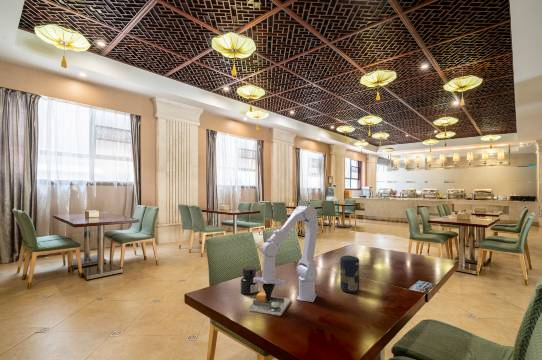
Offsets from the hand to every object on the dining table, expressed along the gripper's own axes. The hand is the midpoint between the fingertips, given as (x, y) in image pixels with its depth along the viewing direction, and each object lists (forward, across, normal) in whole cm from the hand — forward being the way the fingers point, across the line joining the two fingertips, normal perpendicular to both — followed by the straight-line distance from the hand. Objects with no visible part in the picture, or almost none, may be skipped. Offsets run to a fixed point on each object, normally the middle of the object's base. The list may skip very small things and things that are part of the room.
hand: (268, 300), depth 119 cm
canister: (+2, +33, +32) cm, 46 cm away
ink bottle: (+2, -15, +12) cm, 19 cm away
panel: (+2, +1, 0) cm, 2 cm away
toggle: (+1, -3, 0) cm, 3 cm away
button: (0, +5, -6) cm, 8 cm away
